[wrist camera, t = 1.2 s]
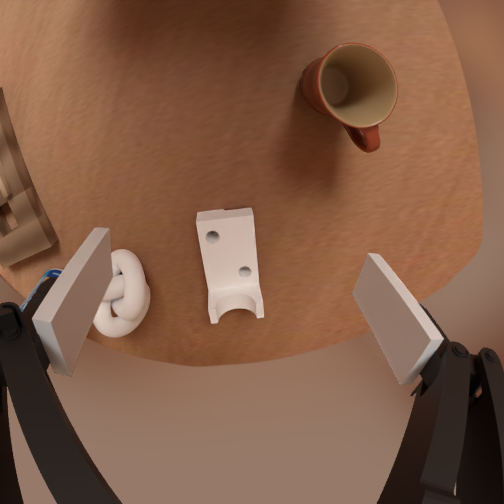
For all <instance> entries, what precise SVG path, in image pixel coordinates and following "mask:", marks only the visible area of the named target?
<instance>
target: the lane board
mask: <svg viewBox="0 0 504 504" xmlns="http://www.w3.org/2000/svg"><path fill="white" fill-rule="evenodd" d="M7 201H8V203H9V206H10V208H11V210H12V212H13V214H14V217H15V219H16V221H17V223H18V225H19V226H18V227H17V228H15V229H13V230H11V229H10V227H9V225H8V223H7V221H6V218H5V216H4V214H3V212H2V210H1V207H0V264H1V266H2V267H3V269H4V268H6V267H8V266H10V265H12V264H14V263H17V262H19V261H21V260H23V259H25V258H27V257H30V256H32V255H34V254H36V253H39V252H41V251H43V250H45V249H48V248H50V247H52V246H53V245H54V244H55V242H56V241H57V240H58V237H57V235H56V233H55V231H54V229H53V227H52V225H51V223H50V221H49V219H48V217H47V215H46V212H45V210H44V208H43V206H42V204H41V201H40V199H39V197H38V195H37V192H36V190H35V188H34V185H33V183H32V180H31V178H30V175H29V173H28V170H27V168H26V165H25V162H24V160H23V157H22V154H21V151H20V148H19V146H18V143H17V140H16V137H15V133H14V130H13V127H12V124H11V121H10V117H9V114H8V110H7V106H6V103H5V99H4V95H3V91H2V88H0V206H1V205H3V204H4V203H6V202H7Z"/></svg>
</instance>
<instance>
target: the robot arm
mask: <svg viewBox="0 0 504 504" xmlns="http://www.w3.org/2000/svg"><path fill="white" fill-rule="evenodd" d="M112 278H113V268H112V257H111V245H110V229H109V228H101V227H95V228H94V229H93V231H92V232H91V233H90V234H89V236H88V237H87V238H86V240H85V241H84V242H83V244H82V245H81V246H80V248H79V249H78V250H77V252H76V253H75V254H74V256H73V257H72V258H71V260H70V261H69V263H68V264H67V265H66V267H65V268H64V270H63V271H62V273H61V274H60V275H59V277H58V278H56V277H49V278H48V279H46V280H45V281H44V282H42V283H41V284H40V286H39V287H38V289H37V290H36V293H34V294H33V296H32V297H31V299H30V300H29V302H28V303H27V305H26V306H25V308H24V309H23V311H22V312H21V309H20V308H19V306H18V305H17V304H15V303H12V302H5V303H1V304H0V504H24V503H23V499H22V495H21V491H20V487H19V483H18V478H17V474H16V469H15V463H14V458H13V451H12V444H11V437H10V428H9V418H8V405H7V387H8V389H9V392H10V396H11V399H12V403H13V406H14V409H15V412H16V415H17V418H18V421H19V423H20V426H21V429H22V431H23V434H24V436H25V439H26V441H27V444H28V446H29V448H30V451H31V453H32V455H33V458H34V460H35V462H36V464H37V466H38V468H39V470H40V473H41V474H42V477H43V479H44V480H45V482H46V484H47V486H48V488H49V490H50V492H51V493H52V495H53V497H54V499H55V501H56V502H57V504H122V503H121V501H120V500H119V499H118V497H117V496H116V495H115V493H114V492H113V490H112V489H111V488H110V487H109V485H108V483H107V482H106V481H105V479H104V478H103V476H102V475H101V473H100V472H99V471H98V469H97V467H96V466H95V464H94V463H93V461H92V459H91V458H90V456H89V454H88V453H87V451H86V449H85V448H84V446H83V444H82V442H81V441H80V439H79V437H78V435H77V434H76V432H75V430H74V428H73V426H72V424H71V423H70V421H69V419H68V417H67V415H66V413H65V411H64V409H63V407H62V404H61V402H60V400H59V399H58V396H57V394H56V392H55V389H54V387H53V385H52V383H51V380H50V378H49V375H48V374H47V369H48V366H49V364H51V367H52V369H53V371H54V373H58V374H62V375H66V376H70V377H71V376H72V373H73V371H74V368H75V365H76V362H77V360H78V357H79V355H80V352H81V350H82V347H83V344H84V342H85V339H86V337H87V334H88V332H89V330H90V327H91V325H92V322H93V320H94V318H95V315H96V313H97V311H98V309H99V306H100V304H101V302H102V300H103V297H104V295H105V293H106V291H107V289H108V286H109V284H110V282H111V280H112ZM352 296H353V298H354V299H355V301H356V303H357V305H358V306H359V308H360V310H361V312H362V314H363V315H364V317H365V319H366V321H367V323H368V325H369V326H370V328H371V330H372V332H373V334H374V336H375V337H376V339H377V341H378V343H379V345H380V347H381V349H382V351H383V352H384V355H385V357H386V359H387V361H388V363H389V364H390V366H391V368H392V370H393V372H394V374H395V376H396V378H397V380H398V382H399V384H400V385H404V384H410V383H413V382H414V381H415V379H416V378H417V377H418V375H419V374H420V375H421V377H422V381H421V382H420V383H419V385H418V386H417V387H416V388H415V390H414V391H413V392H412V394H411V396H413V395H414V394H415V393H417V394H416V397H415V401H414V405H413V408H412V412H411V415H410V418H409V422H408V425H407V428H406V431H405V434H404V437H403V440H402V443H401V446H400V449H399V452H398V454H397V457H396V460H395V463H394V465H393V467H392V470H391V472H390V475H389V477H388V479H387V482H386V484H385V486H384V489H383V491H382V493H381V495H380V498H379V500H378V502H377V504H504V371H503V368H502V365H501V362H500V359H499V357H498V355H497V354H496V353H495V352H494V351H493V350H492V349H489V348H485V347H484V348H482V349H481V350H480V352H479V353H478V355H472V354H469V352H468V350H467V349H466V348H465V347H464V346H463V345H462V344H460V343H458V342H450V341H449V340H448V338H447V337H446V335H445V334H444V332H443V331H442V330H441V328H440V327H439V325H438V324H436V321H435V320H434V319H433V318H432V316H431V315H430V313H429V312H428V311H427V309H425V308H424V307H423V306H422V305H421V304H420V303H418V302H417V301H416V300H415V298H414V297H413V296H412V294H411V293H410V292H409V290H408V289H407V288H406V287H405V285H404V284H403V283H402V281H401V280H400V279H399V278H398V276H397V275H396V274H395V273H394V271H393V270H392V269H391V268H390V267H389V265H388V264H387V263H386V262H385V260H384V259H383V258H382V257H381V256H380V254H373V253H367V256H366V259H365V262H364V264H363V267H362V270H361V272H360V275H359V278H358V280H357V283H356V285H355V288H354V290H353V293H352ZM480 388H482V393H481V395H480V396H479V397H478V398H477V395H476V393H477V392H478V391H479V389H480ZM455 483H456V496H455V495H454V487H455Z"/></svg>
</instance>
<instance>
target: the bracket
mask: <svg viewBox="0 0 504 504" xmlns="http://www.w3.org/2000/svg"><path fill="white" fill-rule="evenodd" d="M196 226H197V232H198V237H199V243H200V248H201V254H202V259H203V265H204V270H205V275H206V280H207V285H208V291H209V292H208V311H209V316H210V320H211V324H214V323H218V321H219V318H220V317H221V316H222V315H223V314H224V313H225V312H227V311H229V310H232V309H237V308H243V309H248V310H250V311H252V312H253V313H254V314H255V315H256V317H257V318H264V309H263V300H262V295H261V291H260V286H259V275H258V263H257V251H256V240H255V228H254V216H253V212H252V208H243V209H234V210H226V211H224V209H219V210H211V211H203V212H197V218H196ZM210 231H216V232H215V233H212V232H210ZM244 266H247V267H244Z"/></svg>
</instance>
